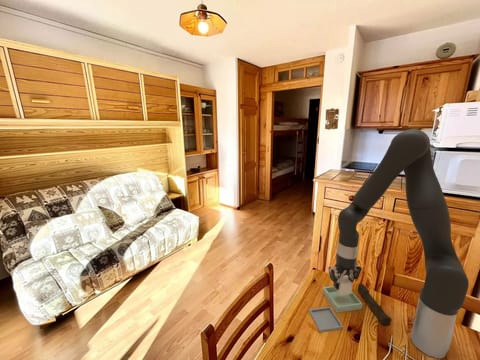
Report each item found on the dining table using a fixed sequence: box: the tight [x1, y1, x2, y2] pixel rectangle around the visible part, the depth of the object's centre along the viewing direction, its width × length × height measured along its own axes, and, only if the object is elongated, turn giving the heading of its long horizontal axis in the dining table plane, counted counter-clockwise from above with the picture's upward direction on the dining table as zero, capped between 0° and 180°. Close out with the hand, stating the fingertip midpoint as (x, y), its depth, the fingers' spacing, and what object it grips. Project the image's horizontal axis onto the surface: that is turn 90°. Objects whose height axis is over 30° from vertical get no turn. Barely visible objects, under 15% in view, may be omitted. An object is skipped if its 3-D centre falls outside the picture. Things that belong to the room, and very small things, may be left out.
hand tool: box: [357, 282, 392, 326], centre depth 89 cm, size 19×4×5 cm, turn 178°
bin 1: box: [308, 306, 344, 333], centre depth 82 cm, size 9×9×2 cm
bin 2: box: [322, 285, 364, 313], centre depth 91 cm, size 11×11×3 cm
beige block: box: [334, 275, 354, 295], centre depth 90 cm, size 5×5×5 cm
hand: (342, 287), depth 90 cm, fingers closed on beige block, 5 cm apart
